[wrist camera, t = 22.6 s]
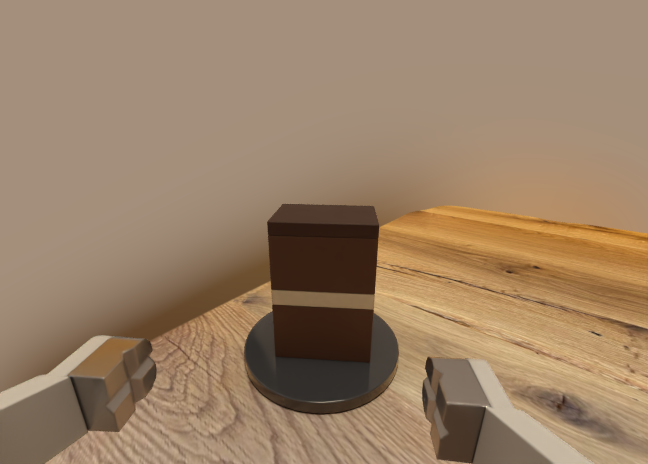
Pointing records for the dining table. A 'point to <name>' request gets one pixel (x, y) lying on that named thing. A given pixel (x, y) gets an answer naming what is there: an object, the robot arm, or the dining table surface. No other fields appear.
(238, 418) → the dining table surface
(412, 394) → the dining table surface
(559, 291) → the dining table surface
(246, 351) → the plate
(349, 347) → the cake slice
